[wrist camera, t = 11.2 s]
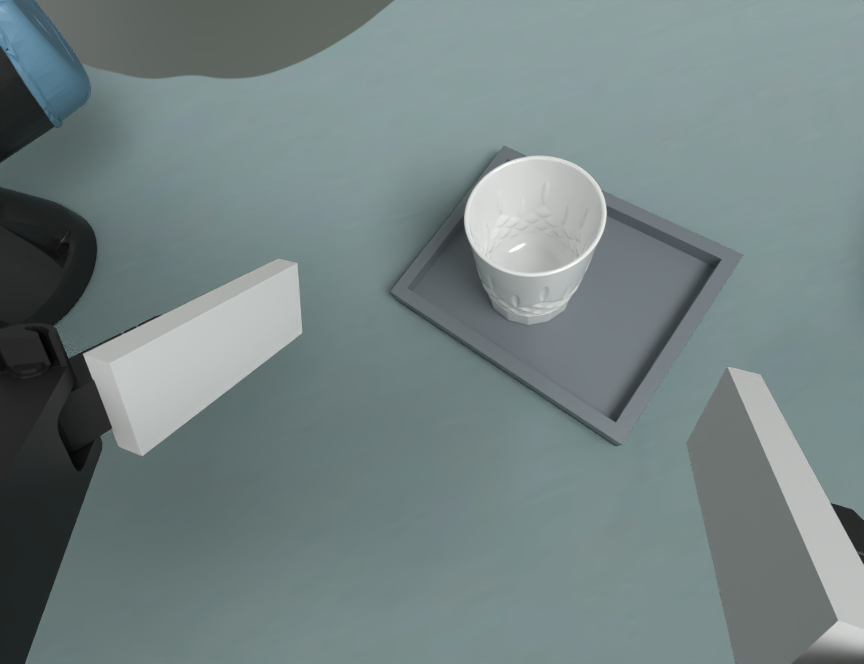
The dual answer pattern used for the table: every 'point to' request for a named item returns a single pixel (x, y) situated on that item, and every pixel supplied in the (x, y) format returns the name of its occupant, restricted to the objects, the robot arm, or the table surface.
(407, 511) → the table surface
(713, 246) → the tray
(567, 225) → the white cup
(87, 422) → the robot arm
